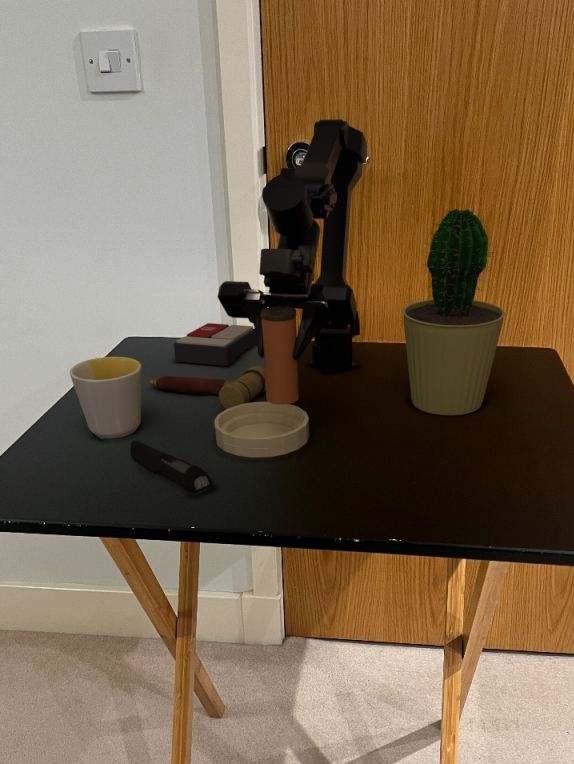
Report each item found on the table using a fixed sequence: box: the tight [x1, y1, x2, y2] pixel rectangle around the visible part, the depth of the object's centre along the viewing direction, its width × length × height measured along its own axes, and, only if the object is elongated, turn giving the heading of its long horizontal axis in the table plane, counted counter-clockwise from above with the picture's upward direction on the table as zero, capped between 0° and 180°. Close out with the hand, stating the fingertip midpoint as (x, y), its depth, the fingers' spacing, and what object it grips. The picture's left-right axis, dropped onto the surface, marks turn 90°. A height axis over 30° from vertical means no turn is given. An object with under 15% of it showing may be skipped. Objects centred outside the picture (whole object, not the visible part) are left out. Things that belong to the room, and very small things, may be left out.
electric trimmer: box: [129, 440, 214, 495], centre depth 103 cm, size 4×16×3 cm, turn 45°
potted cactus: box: [401, 205, 506, 416], centre depth 116 cm, size 15×15×30 cm
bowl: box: [213, 401, 310, 459], centre depth 111 cm, size 14×14×4 cm
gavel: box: [149, 365, 266, 410], centre depth 128 cm, size 21×5×10 cm
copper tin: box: [261, 306, 300, 405], centre depth 105 cm, size 5×5×12 cm
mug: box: [69, 356, 143, 440], centre depth 115 cm, size 14×10×10 cm
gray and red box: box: [173, 322, 257, 367], centre depth 147 cm, size 11×4×15 cm
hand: (277, 357), depth 103 cm, fingers closed on copper tin, 4 cm apart
